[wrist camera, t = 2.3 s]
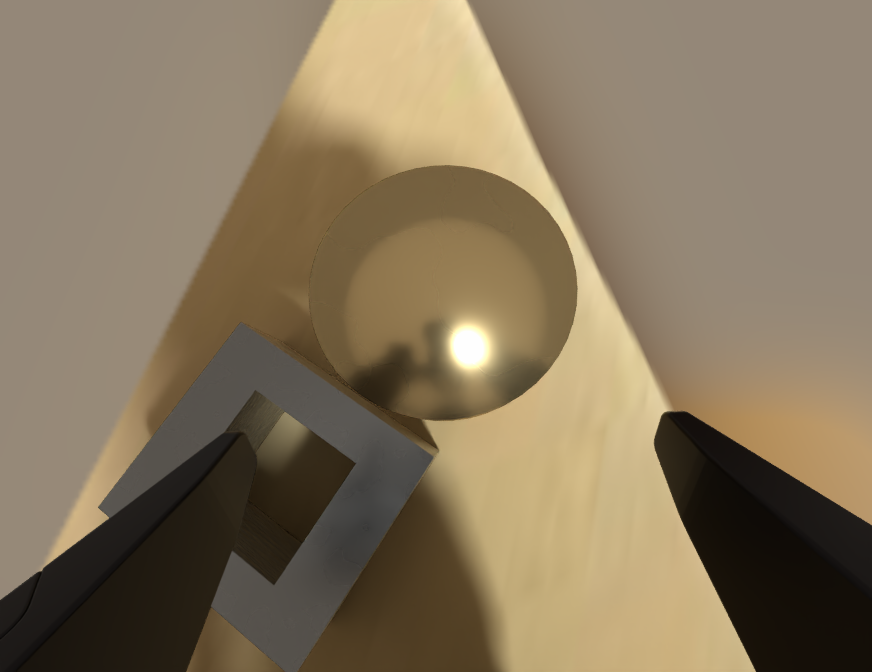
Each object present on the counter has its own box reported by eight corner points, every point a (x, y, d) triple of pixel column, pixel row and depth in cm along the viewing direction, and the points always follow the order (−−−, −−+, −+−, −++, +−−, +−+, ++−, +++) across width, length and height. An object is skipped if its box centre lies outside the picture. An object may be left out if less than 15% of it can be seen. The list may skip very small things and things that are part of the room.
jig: (329, 623, 18) (292, 678, 14) (169, 491, 20) (97, 507, 16) (439, 450, 19) (434, 456, 15) (281, 341, 21) (240, 322, 17)
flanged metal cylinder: (467, 444, 19) (483, 479, 7) (384, 387, 20) (256, 322, 7) (521, 359, 20) (626, 243, 7) (438, 308, 21) (406, 126, 8)
